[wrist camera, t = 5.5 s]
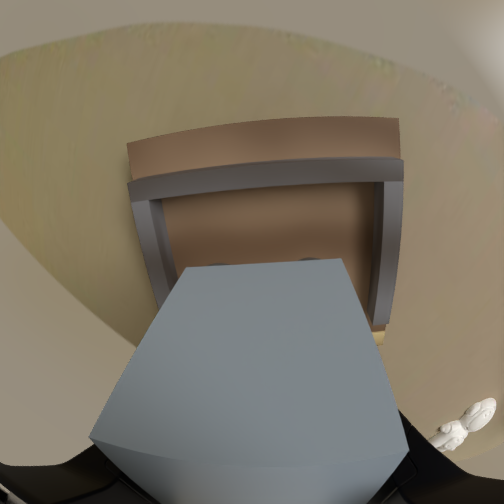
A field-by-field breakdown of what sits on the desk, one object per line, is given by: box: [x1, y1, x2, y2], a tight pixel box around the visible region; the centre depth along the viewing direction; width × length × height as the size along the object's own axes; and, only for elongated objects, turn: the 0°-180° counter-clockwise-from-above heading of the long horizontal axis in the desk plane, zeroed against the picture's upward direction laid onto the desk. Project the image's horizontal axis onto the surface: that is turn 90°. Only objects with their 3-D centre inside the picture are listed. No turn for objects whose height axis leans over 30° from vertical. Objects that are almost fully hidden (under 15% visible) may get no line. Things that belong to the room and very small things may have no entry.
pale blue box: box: [89, 257, 409, 504], centre depth 8 cm, size 8×5×8 cm, turn 6°
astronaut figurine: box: [428, 398, 496, 452], centre depth 25 cm, size 9×12×3 cm
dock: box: [127, 116, 404, 346], centre depth 16 cm, size 14×14×4 cm
